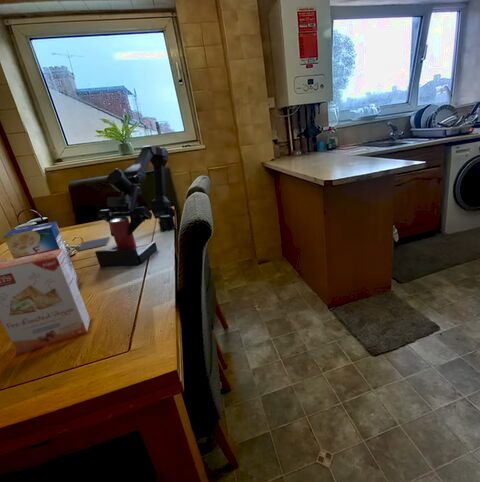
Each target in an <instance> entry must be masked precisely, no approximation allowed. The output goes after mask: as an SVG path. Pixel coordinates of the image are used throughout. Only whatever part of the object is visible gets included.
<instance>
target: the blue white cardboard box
mask: <svg viewBox="0 0 480 482" xmlns="http://www.w3.org/2000/svg"><path fill="white" fill-rule="evenodd" d="M3 239H4V241H5V243H6V246H7V248H8V250H9V252H10V254H11V256H12V259H16V258H21V257H26V256H31V255H35V254H40V253H45V252H49V251H54V250H59V249H63V251H64V254H65V256H66V259H67V261H68V264H69V266H70V269H71V271H72V274H73V276H74V279H75V281H76V284H77V286H78V287H79V285H80V280H79V277H78V274H77V271H76V269H75V267H74V264H73V261H72V258H71V256H70V253H69V250H68V249H67V246H66V244H65V241H64V239H63V236H62V234H61V231H60V228H59V226H58V223H57V220H56V221H50V222H46V223H45V222H44V223H40V224H36V225H29V226H25V227H20V228H16V229H11V230H10V231H9V232H7V233H6V234H5V235H4V236H3Z"/></svg>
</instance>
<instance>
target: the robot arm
mask: <svg viewBox="0 0 480 482" xmlns="http://www.w3.org/2000/svg"><path fill="white" fill-rule="evenodd" d="M168 161H169V151H168V149H166V148H165V147H164V146H160V147H159V146H154V145H151V144H150V145H143V146H141V148H140V152H139V154H138V156H136V159H135V161H134V163H133V164H132V165H130V166H129V167H127V168H126V169H125V170H124V171H123V170H122V169H121V168H114V170H113V171H112V172H110V173H109V174H108V176H107V177H106V182H107V183H108V184H109V185H110V186H111V187H112V188H114V189H115V190H116V191H117V192H119V193H121V196H110V197H107V207H108V208H107V209H101V210H99V211H98V215H97V217H98V218H100V219H102V220H104V221H105V222H106V223H108V224H109V222H110V220H112V219H114V218H118V217H127V218H129V219H130V220H129V222H130V225H129V230H128V235H131V234H132V233H133V234H134V232H135V231H136V230H137V228H139V227H140V225H142V224H143V223H145V222H146V221H149V220H152V217H154V219H155V220H156V219H158V220H157V224H158V228H159V230H160V231H161V232H167V231H171V230H175V229H177V226H176V224H175V219H174V217H176V210H175V208H174V207H172V206H171V201H170V200H169V199H168V197H167V189H166V185H167V184H166V172H165V171H166V169H165V167H166V165H167V163H168ZM150 163H151V165H152V166H153V182H154V198H153V199H151V201H150V209H151V210H149V209H148V208H147V207H146V206H139V202H138V198H139V195H141V194H143V191H142V189H141V187H140V186H138V185H143V184H144V183H145V181H146V178H147V174H146V170H147V168H148V166H149V164H150ZM109 208H113V210H115V212H114V211H113V210H112V209H109ZM109 229H110V236H112V237H114V236H113V233H112V230H111V227H110V224H109Z"/></svg>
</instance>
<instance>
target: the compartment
mask: <svg viewBox="0 0 480 482" xmlns="http://www.w3.org/2000/svg"><path fill="white" fill-rule="evenodd" d="M157 251H158V246H157V243H156V241H152V242H151V243H149V244H148V245H147V246H146V247H144V248H143V249H142V250H137V249H118V248H117V245H116V244H115V245H114V246H112V247H111V248H109V249H99V250H98V249H97V250H95V251H94V252H95V253H94V254H95V256H96V259H97V262H98V265H99V267H100V268H120V267H121V268H122V267H139V266H141V265H144V263H146V262H147V260H149V259H150V258H151V257H152V256H153V255H154V254H155V253H156V252H157Z"/></svg>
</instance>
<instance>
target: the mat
mask: <svg viewBox="0 0 480 482" xmlns="http://www.w3.org/2000/svg"><path fill="white" fill-rule="evenodd" d="M109 239H110V237H109V236H108V237H103V238H98V239H93V240H88V241H83V242H82V244H80V247H79V248H78V250H77V252H81V251H87V250H90V249H96V248H100V247H105V246H107V244H108V241H109Z"/></svg>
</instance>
